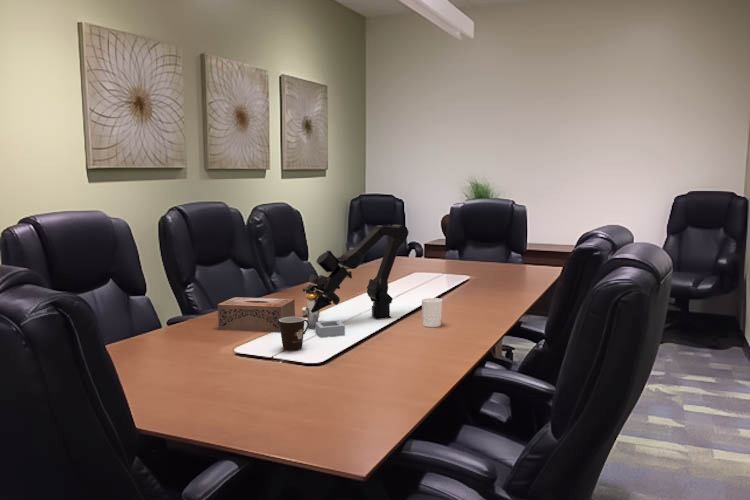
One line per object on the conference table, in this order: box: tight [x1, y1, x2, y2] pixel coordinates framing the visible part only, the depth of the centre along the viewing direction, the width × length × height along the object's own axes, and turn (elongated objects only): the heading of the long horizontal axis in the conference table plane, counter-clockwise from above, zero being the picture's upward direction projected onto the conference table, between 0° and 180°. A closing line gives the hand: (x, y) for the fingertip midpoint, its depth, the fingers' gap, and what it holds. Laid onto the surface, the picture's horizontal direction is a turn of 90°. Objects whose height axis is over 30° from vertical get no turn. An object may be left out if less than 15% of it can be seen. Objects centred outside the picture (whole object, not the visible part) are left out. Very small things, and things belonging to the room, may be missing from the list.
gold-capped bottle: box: [305, 293, 319, 329], centre depth 232 cm, size 5×5×13 cm
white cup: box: [421, 297, 443, 328], centre depth 233 cm, size 8×8×10 cm
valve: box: [301, 286, 321, 317], centre depth 251 cm, size 7×7×12 cm
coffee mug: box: [279, 316, 309, 352], centre depth 204 cm, size 12×9×10 cm
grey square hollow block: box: [314, 319, 346, 338], centre depth 223 cm, size 9×9×4 cm
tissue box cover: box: [217, 296, 296, 333], centre depth 235 cm, size 26×14×10 cm, turn 77°
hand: (309, 311), depth 231 cm, fingers closed on gold-capped bottle, 4 cm apart
